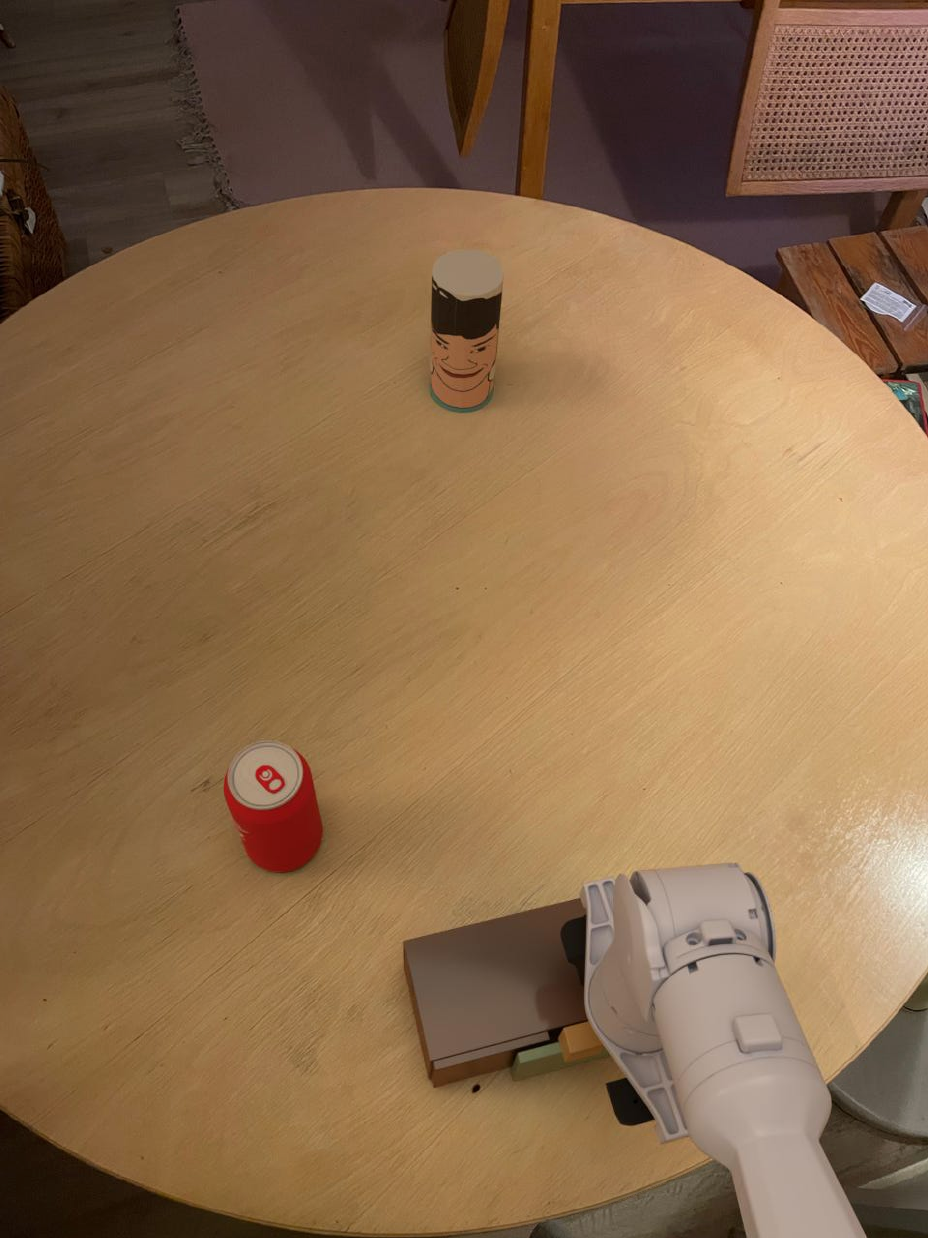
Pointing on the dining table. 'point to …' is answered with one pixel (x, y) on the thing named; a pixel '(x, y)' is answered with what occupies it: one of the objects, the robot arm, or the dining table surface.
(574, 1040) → the green drawer
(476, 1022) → the cabinet
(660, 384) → the dining table surface
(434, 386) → the tan and black cylinder
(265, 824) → the beverage can
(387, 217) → the dining table surface
